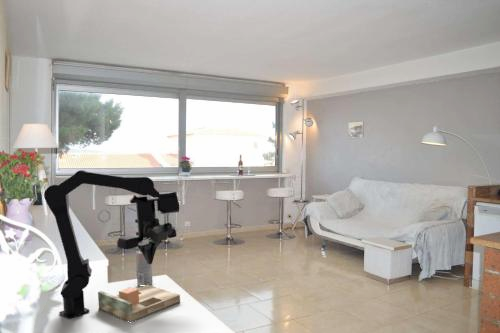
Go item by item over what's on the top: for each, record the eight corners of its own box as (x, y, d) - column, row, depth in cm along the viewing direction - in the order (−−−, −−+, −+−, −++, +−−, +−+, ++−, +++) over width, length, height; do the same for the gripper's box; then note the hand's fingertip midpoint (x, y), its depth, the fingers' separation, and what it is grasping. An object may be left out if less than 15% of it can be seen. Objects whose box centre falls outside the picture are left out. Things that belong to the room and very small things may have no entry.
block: (119, 304, 119) (118, 291, 118) (130, 299, 122) (129, 287, 122) (128, 306, 116) (127, 293, 116) (139, 302, 120) (138, 289, 120)
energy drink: (148, 280, 147) (146, 248, 147) (155, 283, 143) (153, 250, 143) (134, 284, 144) (132, 251, 143) (141, 287, 140) (139, 254, 139)
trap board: (98, 309, 122) (97, 291, 122) (148, 291, 136) (147, 275, 135) (130, 323, 111) (129, 304, 111) (180, 302, 125) (179, 285, 124)
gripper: (134, 223, 113) (138, 276, 114) (185, 212, 127) (188, 260, 128) (114, 220, 121) (118, 270, 122) (164, 210, 135) (167, 255, 135)
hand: (150, 264), depth 126 cm, fingers closed
